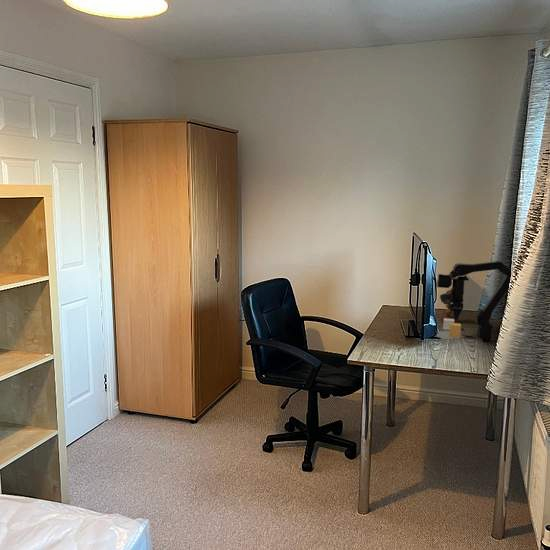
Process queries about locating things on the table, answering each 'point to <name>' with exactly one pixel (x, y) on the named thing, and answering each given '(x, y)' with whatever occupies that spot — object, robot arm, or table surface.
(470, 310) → the table surface
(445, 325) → the matte ivory cube
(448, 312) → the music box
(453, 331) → the matte amber box
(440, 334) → the plate
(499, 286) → the robot arm
